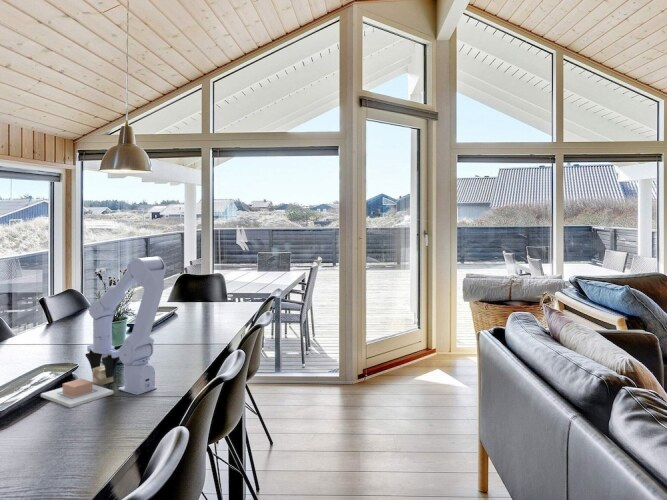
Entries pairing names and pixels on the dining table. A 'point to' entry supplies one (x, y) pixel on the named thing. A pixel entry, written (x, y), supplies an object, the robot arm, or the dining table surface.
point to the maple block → (100, 376)
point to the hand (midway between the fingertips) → (102, 374)
